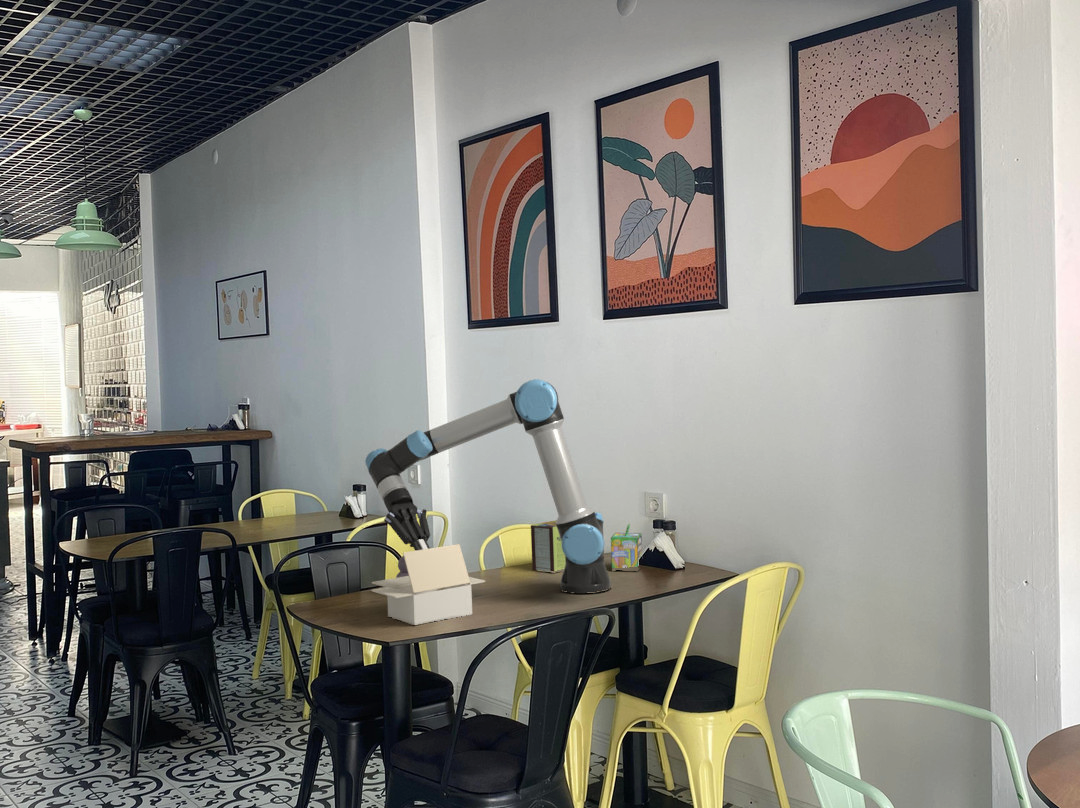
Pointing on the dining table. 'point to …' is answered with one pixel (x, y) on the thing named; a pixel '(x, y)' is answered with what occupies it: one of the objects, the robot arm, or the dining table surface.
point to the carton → (426, 601)
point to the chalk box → (626, 549)
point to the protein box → (546, 547)
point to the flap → (436, 568)
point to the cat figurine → (402, 568)
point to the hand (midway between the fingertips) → (428, 561)
